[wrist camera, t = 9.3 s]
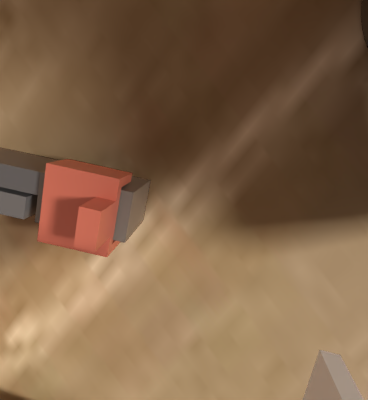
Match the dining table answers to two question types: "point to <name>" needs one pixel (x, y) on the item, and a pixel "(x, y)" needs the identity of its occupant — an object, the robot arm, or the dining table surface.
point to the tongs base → (34, 182)
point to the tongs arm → (17, 203)
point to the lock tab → (81, 206)
